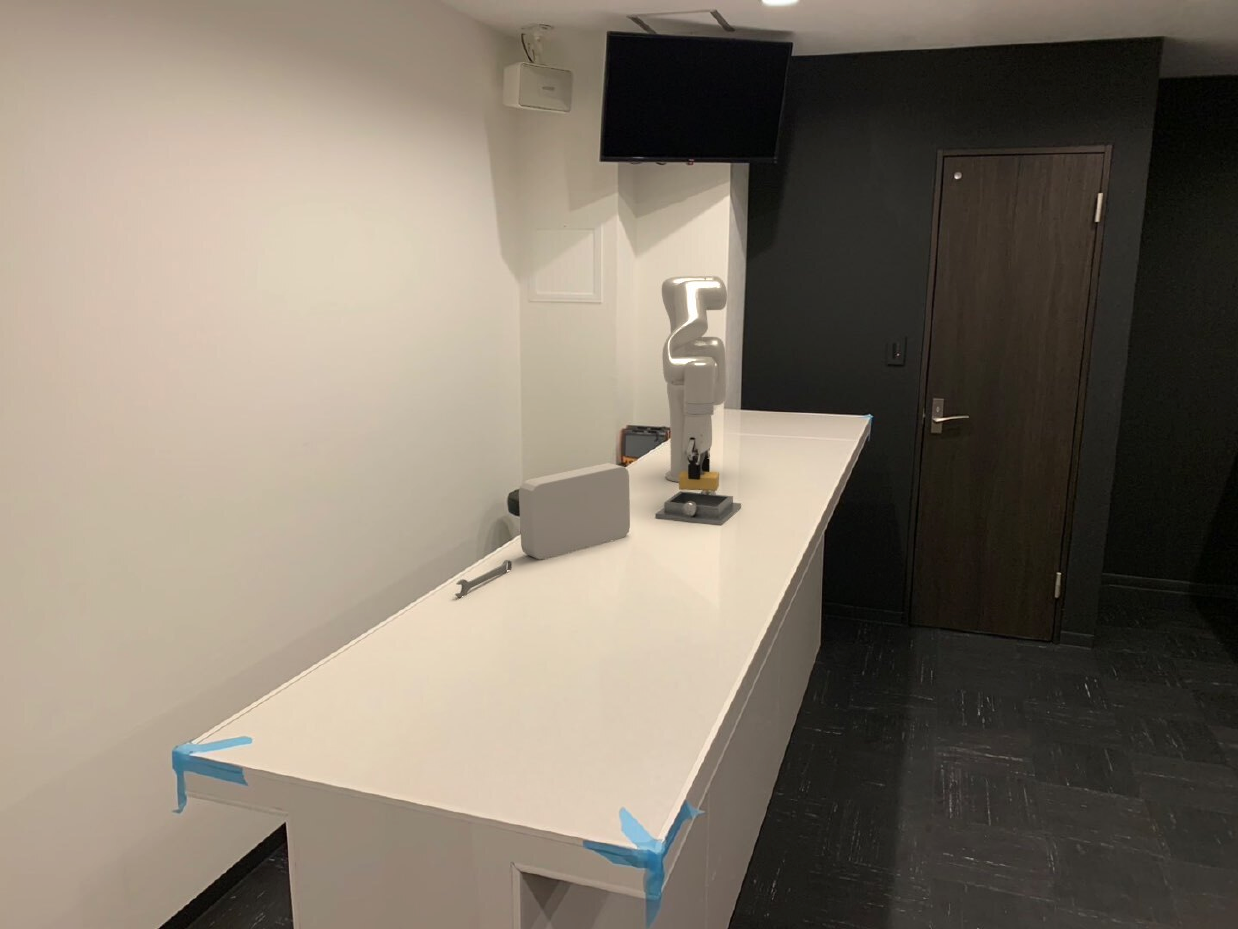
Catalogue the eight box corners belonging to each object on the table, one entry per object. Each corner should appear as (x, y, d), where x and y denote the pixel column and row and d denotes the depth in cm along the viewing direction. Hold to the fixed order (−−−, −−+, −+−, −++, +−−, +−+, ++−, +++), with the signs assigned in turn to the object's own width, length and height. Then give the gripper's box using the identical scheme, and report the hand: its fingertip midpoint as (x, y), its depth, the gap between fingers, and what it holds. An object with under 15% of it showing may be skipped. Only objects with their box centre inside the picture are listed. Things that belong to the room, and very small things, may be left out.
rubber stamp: (719, 485, 249) (719, 441, 246) (716, 491, 243) (716, 445, 240) (681, 484, 251) (681, 440, 248) (678, 489, 245) (678, 444, 243)
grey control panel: (611, 529, 237) (609, 459, 232) (630, 536, 231) (629, 464, 227) (515, 554, 219) (512, 479, 215) (534, 562, 213) (531, 485, 209)
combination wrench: (508, 555, 209) (451, 582, 192) (513, 556, 208) (456, 583, 191) (508, 571, 210) (452, 599, 192) (513, 572, 209) (457, 600, 192)
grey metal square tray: (678, 501, 260) (678, 484, 259) (741, 507, 253) (741, 490, 252) (655, 518, 245) (655, 500, 244) (721, 525, 238) (721, 507, 237)
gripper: (696, 402, 251) (696, 467, 255) (673, 413, 236) (673, 482, 240) (723, 404, 248) (722, 469, 252) (701, 415, 233) (701, 485, 237)
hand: (699, 475), depth 246 cm, fingers closed on rubber stamp, 6 cm apart
